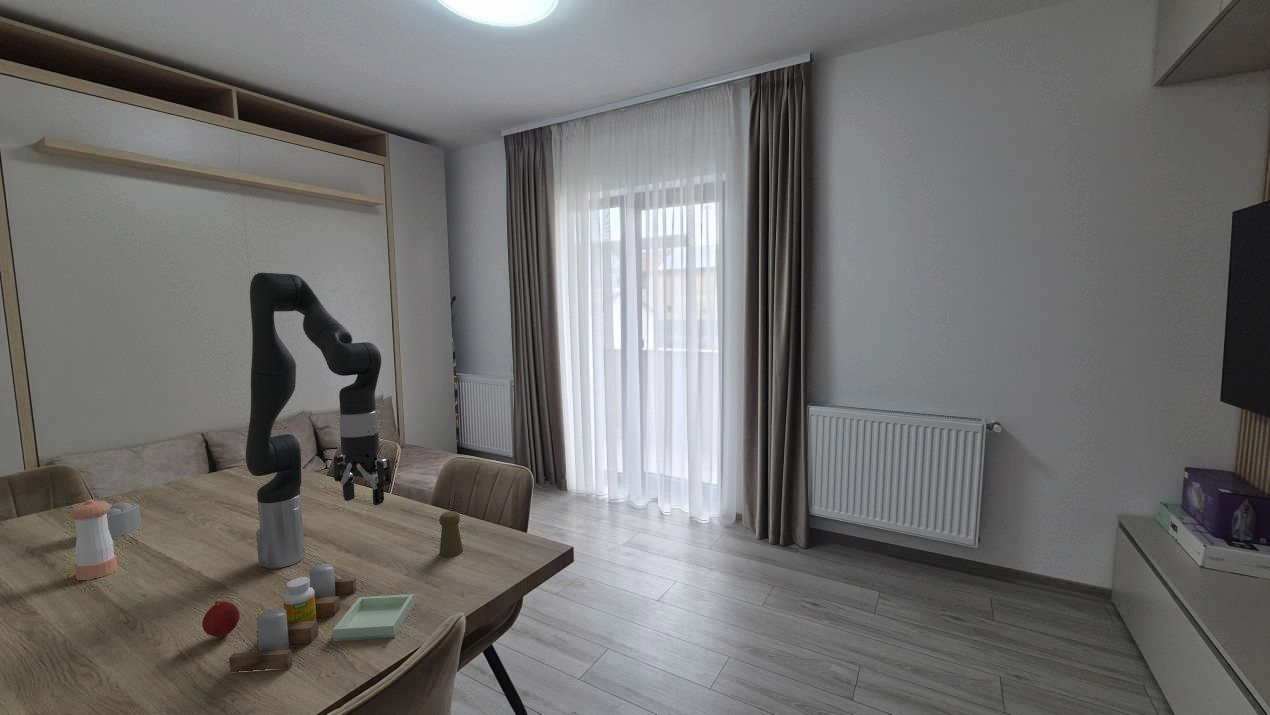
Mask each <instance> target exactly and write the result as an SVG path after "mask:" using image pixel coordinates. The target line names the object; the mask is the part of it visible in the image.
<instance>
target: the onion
mask: <svg viewBox="0 0 1270 715" xmlns="http://www.w3.org/2000/svg"><path fill="white" fill-rule="evenodd" d="M240 618H241V614H240V610H239V608H238V607H237V605H235V604H234V603H232V602H230V601H229V602H228V601H224V600H223V599H219V598H218V599H217V600H215V601H214V605H213V606H211V607H210V608H209V609H208V610H207V612H206V613H205V614H204V617H203V619H202V622H201V623H202V624H201V627H202V629H203V630H202V631H204V633H206V635H208V636H211V637H215V638H218V639H223V637H224V638H225V637H227V635H230V633H231V632H232V631H233V630H234V629H235V628H236V627H237V625H238V624H239V622H240Z"/></svg>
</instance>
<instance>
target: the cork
mask: <svg viewBox="0 0 1270 715" xmlns="http://www.w3.org/2000/svg"><path fill="white" fill-rule="evenodd" d="M460 519H461V516H460V514H459V512H457V511H454V510H451V511H446V512H444V513H442V514H440V516H439V525H440V526H441V531H440V532H441V535H440V544H439V554H438V555H439V556H440V557H442V558H445V559H446V558H454V557H455V558H456V557H458V556H459V555H461V554H462V553H463V552H464V548H463V543H462V542H463V541H462V538H461V537H462V536H461V533H460V528H459V523H460V522H461V521H460ZM457 555H458V556H457Z"/></svg>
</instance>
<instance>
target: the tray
mask: <svg viewBox="0 0 1270 715" xmlns="http://www.w3.org/2000/svg"><path fill="white" fill-rule="evenodd" d="M414 607H415V594H414V593H411V594H397V595H396V594H393V595H390V594H389V595H378V596H376V595H375V596H360V597H358V598H357V600H356V601H355V602H354V603H353V604H352V605H351V606H350V608H349V609H348V610H347V611H346V613H345V614H344V615H343V616H342V617H341V619H340V620H339V621H338V623H337V624H336V625H335V626H334V627H333V629H332V636H333V642H345V641H360V640H361V641H363V640H365V641H366V640H377V639H392V638H393V639H394V638H395V637H396V636H397V634H398V632H399V631H400V630H401V627H402V626H403V625H404V623H405V621H406V620H407V618H408V616H409V614H410V613H411V612H412V609H413V608H414Z"/></svg>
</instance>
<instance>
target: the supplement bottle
mask: <svg viewBox="0 0 1270 715" xmlns="http://www.w3.org/2000/svg"><path fill="white" fill-rule="evenodd" d="M283 609H285V610H286V615H287V622H303V621H317V617H316V607H315V593H314V589H313V588H311V587H310V577H307V576H302V577H297V578H294V579H292V580H290V581H288V582H287V583H286V594H285V595H284V597H283Z"/></svg>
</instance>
